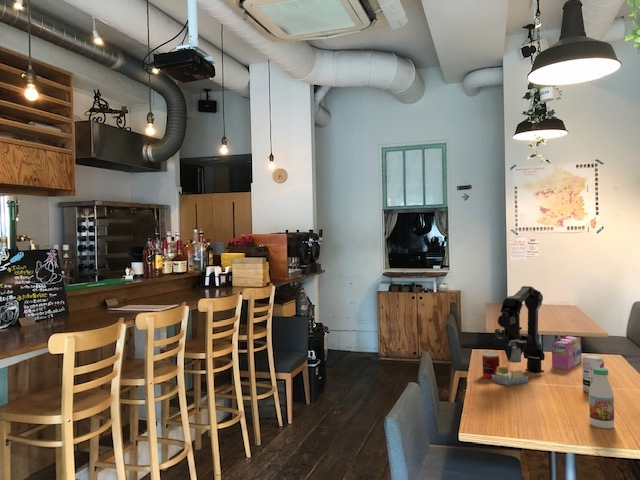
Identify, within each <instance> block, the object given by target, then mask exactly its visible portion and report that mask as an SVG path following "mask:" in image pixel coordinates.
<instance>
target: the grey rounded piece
mask: <svg viewBox="0 0 640 480" xmlns="http://www.w3.org/2000/svg"><path fill="white" fill-rule="evenodd" d="M506 359H507V358H506ZM506 362H509V363H521V362H522V355H521V348H519V347H517V346H512V352H511V357H510V359H507V360H506Z"/></svg>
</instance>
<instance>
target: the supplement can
mask: <svg viewBox="0 0 640 480" xmlns="http://www.w3.org/2000/svg"><path fill="white" fill-rule="evenodd" d="M581 364H582V365H581V366H582V390H583V391H584V392H585V391H586V392H585V393H587V392H588V393H587V394H589V389H590V386H591V384H592V382H593V379H594V373H593V369H594V368H605V360H604V359H603V357H602V356H600V355H595V354H594V355H593V354H585V355H583V357H582V362H581Z"/></svg>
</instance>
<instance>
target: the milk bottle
mask: <svg viewBox="0 0 640 480" xmlns="http://www.w3.org/2000/svg"><path fill="white" fill-rule="evenodd" d="M593 373H594V379H593V382H592V384H591V386H590V389H589V393H588V408H589V409H588V413H589V414H588V418H589V419H588V420H589V424H590V425H591V426H593V427H594V428H598V429H605V430H610V429H613V428H614V427H615V404H614V403H615V400H614V399H615V398H614V391H613V389H612V386H611V385H610V381H609V378H608V377H609V370H608V369H607V368H605V367H604V368H594V369H593Z"/></svg>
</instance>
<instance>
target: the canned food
mask: <svg viewBox="0 0 640 480" xmlns="http://www.w3.org/2000/svg"><path fill="white" fill-rule="evenodd" d="M481 358H482V360H481V361H482V376H483V378H485V379H489V380H492V374H496V372H497V367H500V354H499V353H496V352H490V351H489V352H483V353H482V357H481Z"/></svg>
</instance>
